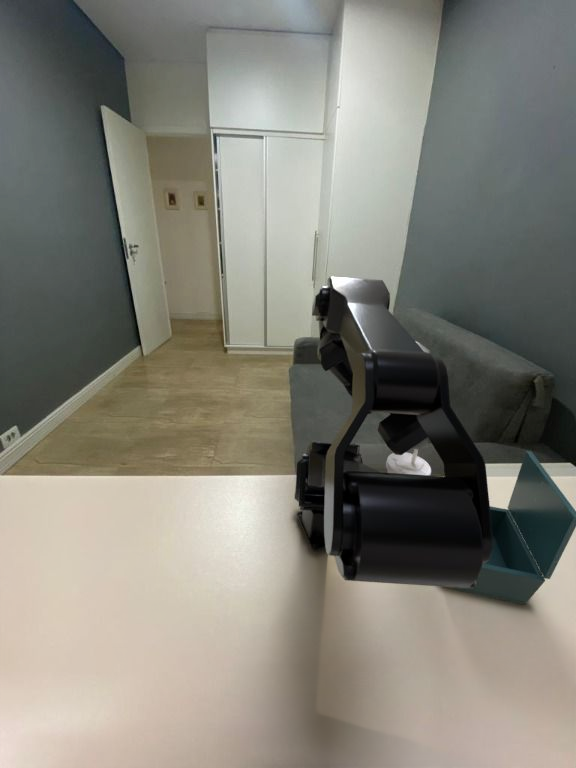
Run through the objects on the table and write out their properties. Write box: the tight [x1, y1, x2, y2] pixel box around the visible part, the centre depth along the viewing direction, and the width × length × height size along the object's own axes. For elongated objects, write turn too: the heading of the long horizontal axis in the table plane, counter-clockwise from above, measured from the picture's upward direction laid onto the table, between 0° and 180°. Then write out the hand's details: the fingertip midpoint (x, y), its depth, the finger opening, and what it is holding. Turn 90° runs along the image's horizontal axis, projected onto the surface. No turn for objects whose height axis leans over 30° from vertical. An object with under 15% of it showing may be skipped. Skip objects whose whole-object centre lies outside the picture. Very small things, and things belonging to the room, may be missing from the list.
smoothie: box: [385, 449, 432, 476], centre depth 47 cm, size 6×6×14 cm
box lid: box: [507, 450, 576, 580], centre depth 38 cm, size 11×10×1 cm
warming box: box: [445, 505, 546, 605], centre depth 43 cm, size 10×10×6 cm
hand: (410, 427), depth 49 cm, fingers open, 9 cm apart
